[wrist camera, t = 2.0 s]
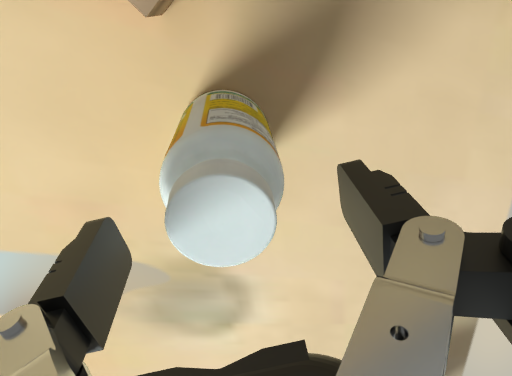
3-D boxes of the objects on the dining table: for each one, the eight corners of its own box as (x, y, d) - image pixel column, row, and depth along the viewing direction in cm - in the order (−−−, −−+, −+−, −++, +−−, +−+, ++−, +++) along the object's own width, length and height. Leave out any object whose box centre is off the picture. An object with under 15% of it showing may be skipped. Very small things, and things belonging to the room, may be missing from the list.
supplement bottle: (243, 71, 19) (259, 125, 10) (281, 151, 21) (319, 247, 13) (160, 114, 19) (111, 198, 11) (206, 186, 22) (195, 299, 13)
